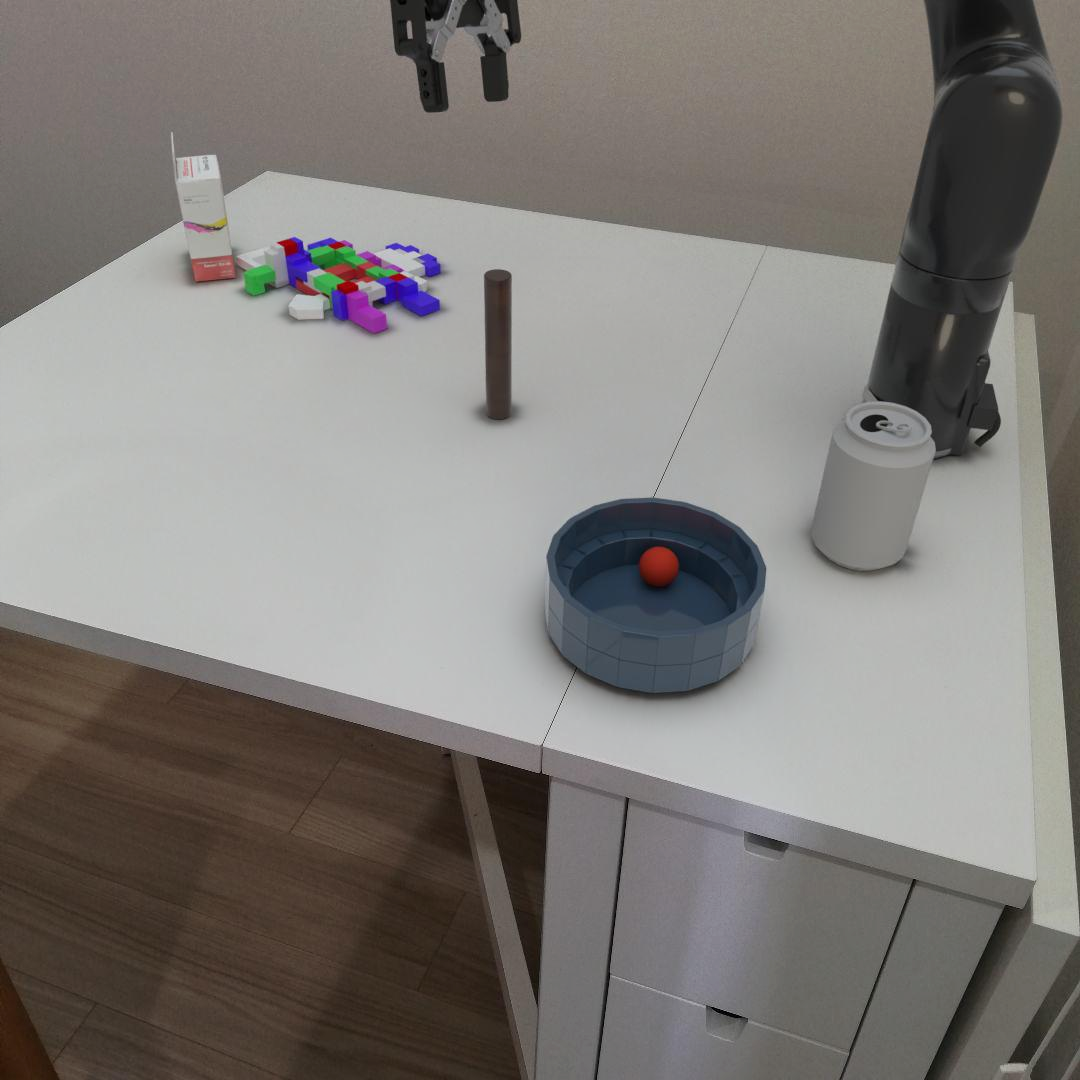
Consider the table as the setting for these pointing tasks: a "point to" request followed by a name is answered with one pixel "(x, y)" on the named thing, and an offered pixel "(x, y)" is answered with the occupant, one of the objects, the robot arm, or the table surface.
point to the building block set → (343, 279)
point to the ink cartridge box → (204, 216)
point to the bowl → (653, 595)
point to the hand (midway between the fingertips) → (467, 106)
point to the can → (872, 485)
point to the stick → (498, 342)
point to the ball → (658, 566)
